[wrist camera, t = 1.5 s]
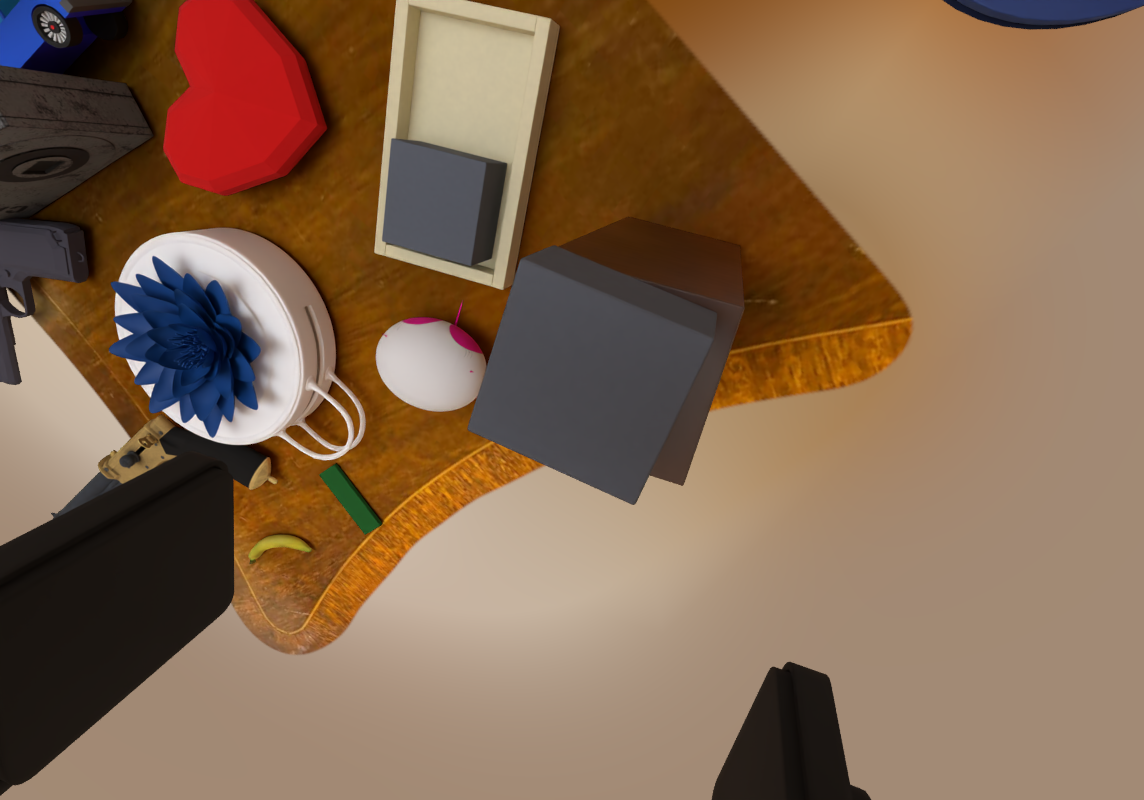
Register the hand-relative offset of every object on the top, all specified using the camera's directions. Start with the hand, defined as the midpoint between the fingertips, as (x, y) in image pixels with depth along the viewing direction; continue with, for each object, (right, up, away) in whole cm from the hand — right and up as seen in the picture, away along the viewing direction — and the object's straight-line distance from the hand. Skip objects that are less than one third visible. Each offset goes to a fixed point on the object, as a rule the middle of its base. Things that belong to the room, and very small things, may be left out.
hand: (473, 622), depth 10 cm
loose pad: (+3, +5, +12) cm, 13 cm away
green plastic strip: (-16, -4, +40) cm, 43 cm away
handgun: (-38, +9, +40) cm, 56 cm away
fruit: (-25, -8, +43) cm, 50 cm away
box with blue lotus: (-22, +8, +37) cm, 44 cm away
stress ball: (-7, +8, +33) cm, 35 cm away
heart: (-18, +23, +31) cm, 43 cm away
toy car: (-32, +25, +31) cm, 51 cm away
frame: (-5, +19, +28) cm, 35 cm away
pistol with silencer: (-32, -9, +45) cm, 56 cm away
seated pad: (-6, +16, +29) cm, 34 cm away
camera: (-36, +22, +36) cm, 55 cm away
